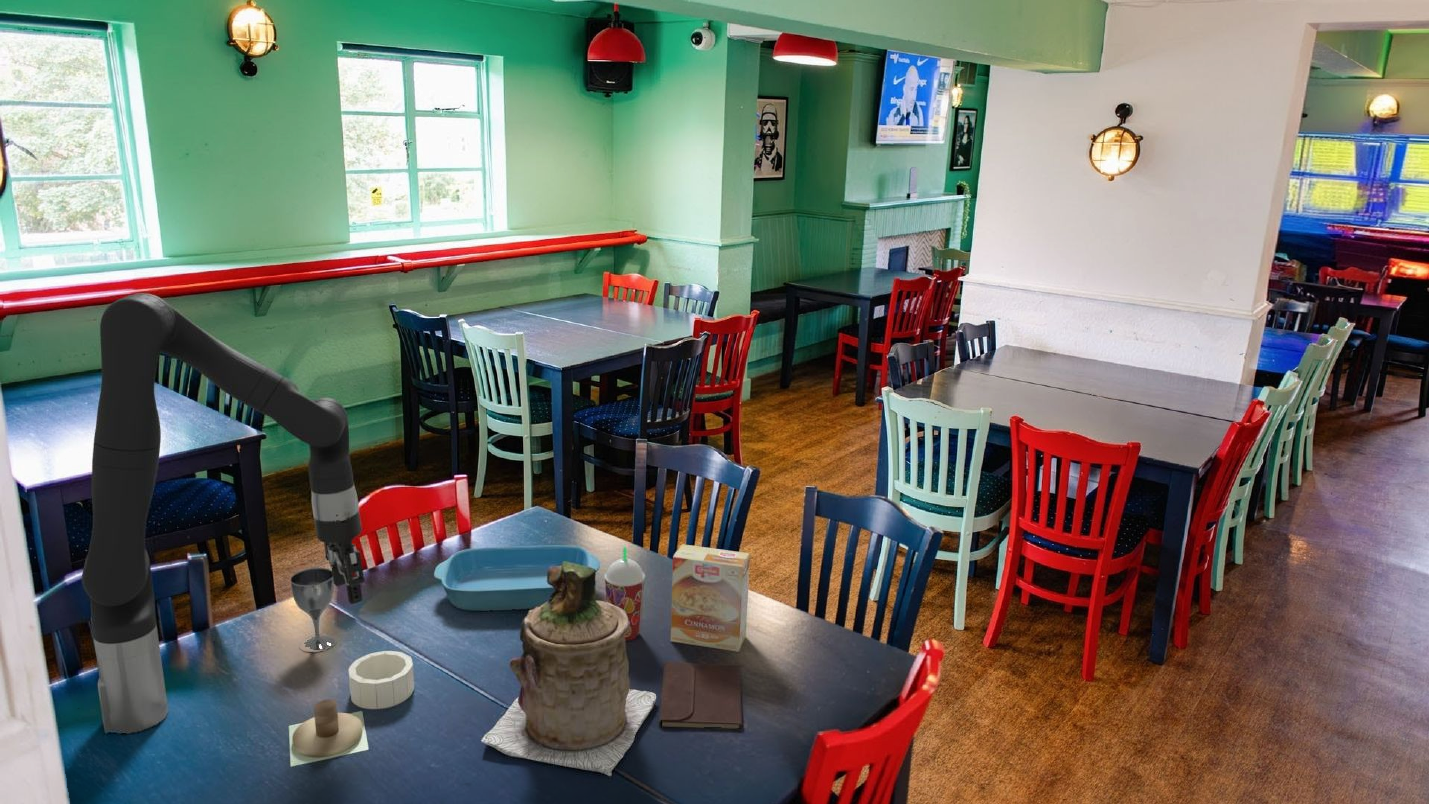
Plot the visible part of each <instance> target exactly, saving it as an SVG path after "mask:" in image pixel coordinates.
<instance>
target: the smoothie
mask: <svg viewBox="0 0 1429 804" xmlns="http://www.w3.org/2000/svg"><path fill="white" fill-rule="evenodd" d="M622 548H623V549H622V553H623V554H622V555H623V556H622V557H623V558H620V559H619V558H618V559H617V560H615V561H613V562H612V563H611V564H610V566H609V567H608V568H607V571H606V572H605V573H604V588H605V590H604V591H605V602H607V603H610V604H612V605H615V606H617V607H619V608H621V609H622V610H624V611H625V612H626V614H627V617H628V621H629V631H628V633H627V634H626V635H625V642H628V641H632V640H634V639H636V638H637V637H638V634H639V633H640V631H641V623H642V612H643V611H642V610H643V599H644V589H645V587H644V585H645V578H646V575H645V573H644V572H643V570H642V567H641V566H640V565H639V564H638V562H636V561H635V560H633V559H631V558H627V547H626V546H624V547H622Z"/></svg>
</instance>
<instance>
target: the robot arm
mask: <svg viewBox="0 0 1429 804" xmlns="http://www.w3.org/2000/svg"><path fill="white" fill-rule="evenodd" d="M99 323H100V324H99V332H100V333H99V337H100V338H99V339H100V340H99V341H100V355H101V357H100V359H101V386H100V393H99V398H98V399H99V400H98V405H97V412H96V423H95V430H94V436H93V437H94V438H93V448H92V459H91V460H92V461H91V500H92V501H91V502H92V530H91V538H90V542H89V548H88V551H87V552H88V553H87V555H86V557H85V560H84V561H85V562H84V566H83V570H82V574H81V583H82V587H83V589H84V591H85V593H86V594H87V596H88V597H89V599H90V613H91V614H90V615H91V616H90V617H91V620H90V622H91V631H92V638H93V645H94V649H95V656H96V662H97V663H96V664H97V668H98V675H99V676H98V677H99V678H98V682H97V691H98V696H99V703H100V709H101V716H102V723H103V728H104V733H105V732H108V731H116V732H118V733H117V734H121V733H123V732H124V733H126V734H132V733H131V732H134V733H139V732H142V730H143V731H145V730H144V729H146V730H148V729H151V728H152V726H153V727H155V726H156V725H158V724H159V722H160V723H161V722H163V720H165V718H166V717H167V715H168V713H169V709H168V698H167V693H166V685H165V676H164V671H163V669H164V668H163V664H162V663H163V661H162V656H161V648H160V641H159V633H158V627H157V618H156V602H155V595H154V594H155V593H154V586H153V585H154V584H153V577H152V569H151V563H150V557H149V554H148V551H147V549H146V527H147V526H146V525H147V520H148V515H149V512H150V511H149V510H150V506H151V502H152V499H153V494H154V490H155V485H156V480H157V475H158V469H159V462H160V450H161V440H162V439H161V437H162V436H161V434H162V431H161V422H160V417H159V416H160V415H159V411H158V407H157V403H156V402H157V401H156V395H155V381H156V375H157V368H158V362H159V358H160V354H161V353H162V354H164V355H166V356H169V357H172V358H173V359H176V360H178V361H180V362H182V363H184V364H186V365H187V366H189V367H190V368H193V369H194V370H195V371H197V372H199V373H200V374H201V375H203V377H205V378H206V379H208V380H209V381H210V382H211V383H213V384H214V385H215V386H216V387H217V388H219V389H220V390H221V391H223V392H224V393H226V394H227V395H228V396H230V397H232V398H233V399H235V400H237V401H238V402H240V403H241V404H244V405H246V406H247V407H248V408H252V409H253V410H255V411H257V412H259V413H261V414H262V415H264V416H267V417H269V418H271V419H272V420H273V421H274V422H276V424H278V425H279V426H280V427H281V428H283V429H284V430H285V431H287V432H288V433H289V434H291V435H292V436H293V437H294V438H296V439H298V440H299V441H301V442H303V443H305V444H306V445H309V452H310V453H309V454H310V455H309V460H308V468H307V469H308V477H309V484H310V490H311V492H310V493H311V506H312V514H313V521H314V527H315V533H316V539H317V540H318V541H320V542H322V543H323V546H324V552H325V557H324V558H325V559H326V561H328V565H329V567H330V569H331V570H332V575H333V581H334V587H339V586H342V585H345V586H346V593H347V600H348V603H349V604H350V605H353V604H357V603H360V602H361V601H363V594H362V588H361V584H363V583H365V580H366V579H365V577H364V569H363V564H362V559H361V558H362V557H361V552H360V551H359V550H357V547H356V544H355V543H353V540H354V539H355V538H356V537H359V536H360V535H361V532H362V530H363V529H362V521H361V515H360V508H359V499H358V494H357V490H356V487H355V481H354V474H353V473H354V472H353V469H352V468H353V467H352V463H351V459H350V458H351V456H350V430H349V429H350V428H349V418H348V413H347V411H346V409H345V407H344V406H343V404H342V403H340V402H339V401H338V400H337V399H335V398H332V397H331V398H330V397H320V398H317V399H314V400H312V399H310V398H308V397H307V396H306V395H304V394H303V393H301V392H300V391H299V388H298V386H297V385H296V384H295V383H294V382H293V381H291V380H290V379H289V378H287V377H284V376H283V375H281V374H280V373H278V372H276V371H274V370H272V369H270V368H268V367H267V366H264V365H263V364H262V363H259V362H258V361H256V360H254V359H252V358H250V357H248V356H247V355H245V354H243V353H241V352H239V351H237V350H236V349H234V348H232V347H231V346H229V345H227V344H225V343H224V342H222V341H221V340H219V339H218V338H216V337H215V336H213V335H211V334H210V333H209V332H207V331H206V330H204V329H203V328H201V327H200V326H198V325H197V324H196V323H194V322H193V321H191V320H190V319H189V318H188V317H186V316H185V315H183V314H182V313H181V312H180V311H178V310H177V309H176V308H175V307H173V305H171V304H169V303H168V302H167V301H165V300H164V299H163V298H161V297H159V296H157V295H155V294H151V293H146V292H145V293H144V292H140V293H133V294H129V295H127V296H125V297H122V298H119V299H117V300H115V301H113V302H112V303H111V304H110V305H108V306H107V307H106V309H105V310H104V312H103V314H102V316H101V318H100V322H99ZM353 574H354V576H353ZM154 725H155V726H154ZM150 727H151V728H150ZM147 728H148V729H147ZM138 731H139V732H138Z"/></svg>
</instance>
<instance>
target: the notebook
mask: <svg viewBox="0 0 1429 804" xmlns="http://www.w3.org/2000/svg"><path fill="white" fill-rule="evenodd" d="M661 685H662V686H661V696H660V707H659V709H660V710H659V718H658V727H661V726H662V727H673V728H674V727H675V728H677V727H678V728H704V727H721V728H720V729H737V728H740V729H741V728H742V729H743V725H744V724H743V711H742V710H743V707H742V690H741V689H742V688H741V686H742V685H741V668H740V665H739V664H728V663H723V664H722V663H697V662H696V663H695V662H694V663H693V662H684V661H677V660H676V661H673V660H670V661H669V660H668V661H667V660H666V661H664V665H663V675H662V684H661ZM740 725H741V726H740Z"/></svg>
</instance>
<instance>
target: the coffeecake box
mask: <svg viewBox="0 0 1429 804" xmlns="http://www.w3.org/2000/svg"><path fill="white" fill-rule="evenodd" d="M750 559H751V553H750V552H743V551H734V550H727V549H719V548H713V547H704V546H698V545H692V544H691V545H689V544H684V543H683V544H682V543H681V545H680V546H679V548H678V549H677V550H676V551H675V553H674V554H673V556H672V573H671V576H672V577H671V609H670V611H671V613H670V615H671V616H670V642H672V643H678V644H679V643H680V644H686V645H692V646H699V647H705V648H712V649H718V650H725V651H731V652H737V653H738V652H740V650H741V648H742V645H743V643H744V641H745V639H746V636H747V623H748V622H747V621H748V619H747V618H748V602H749V601H748V600H749V580H750V563H751V560H750Z"/></svg>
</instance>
